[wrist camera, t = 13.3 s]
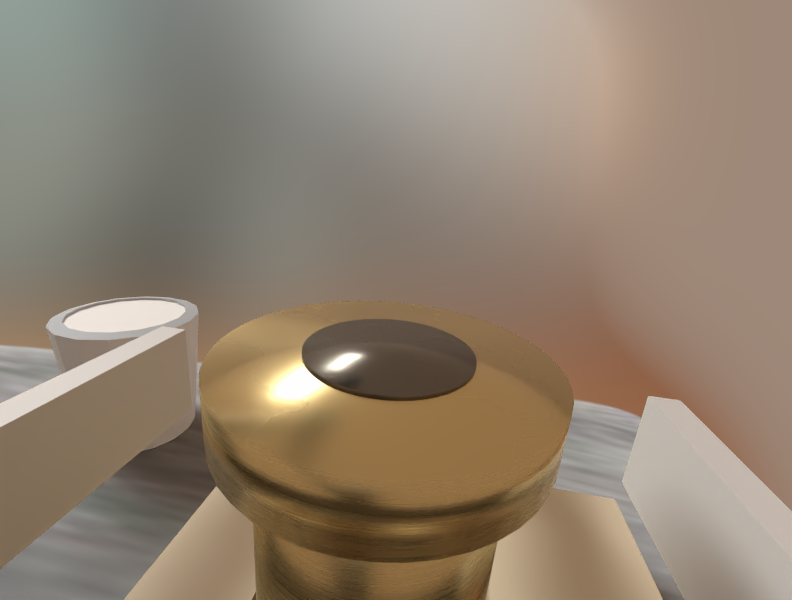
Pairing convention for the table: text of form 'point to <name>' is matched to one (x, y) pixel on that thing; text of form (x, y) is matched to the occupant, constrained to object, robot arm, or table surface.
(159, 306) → the white cup
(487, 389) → the brass sleeve
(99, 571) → the table surface
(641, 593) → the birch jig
